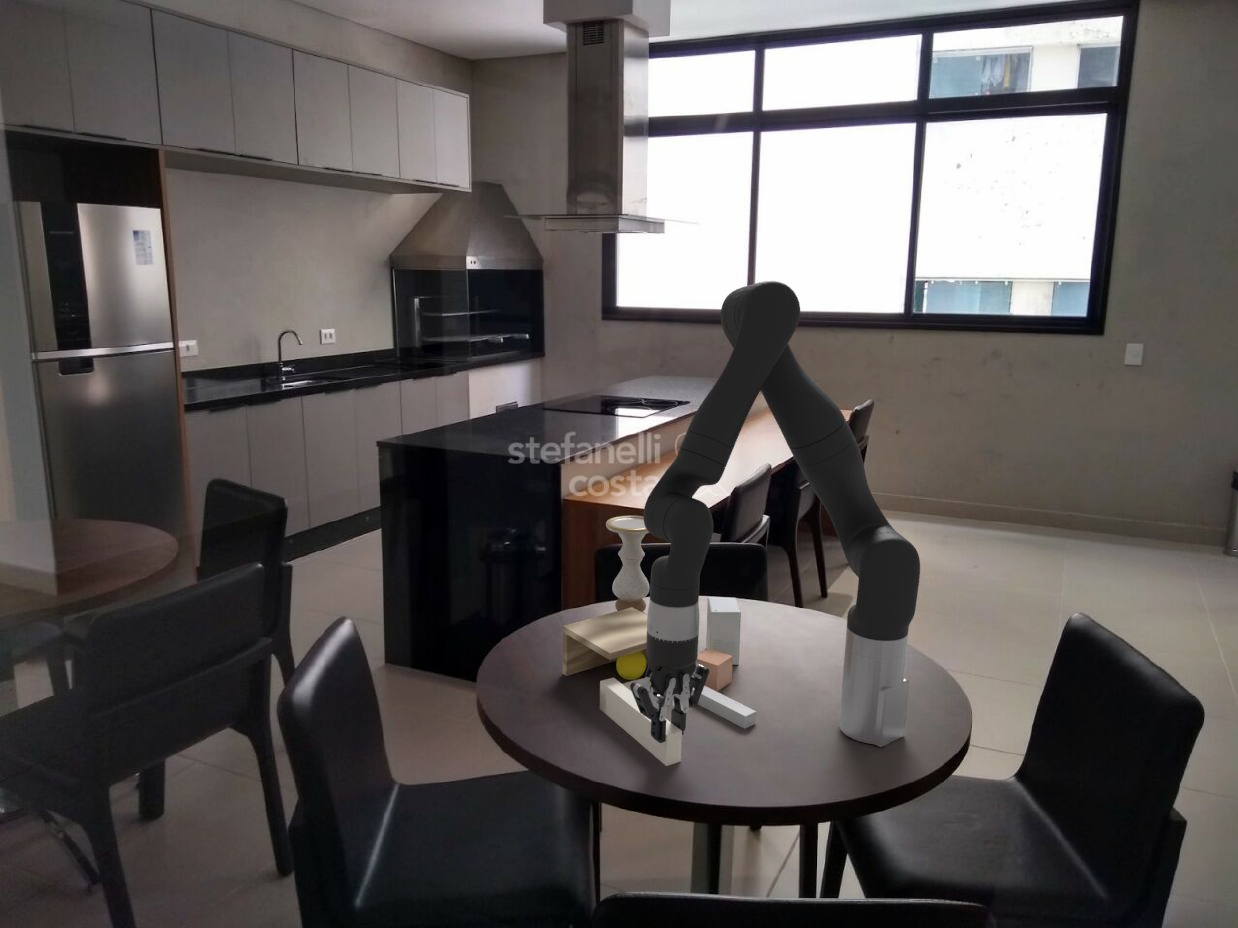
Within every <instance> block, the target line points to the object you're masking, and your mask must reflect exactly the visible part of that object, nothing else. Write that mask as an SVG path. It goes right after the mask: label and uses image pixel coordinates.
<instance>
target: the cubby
mask: <svg viewBox="0 0 1238 928" xmlns="http://www.w3.org/2000/svg"><path fill="white" fill-rule="evenodd" d="M644 613H645V612H644ZM644 613H642V612H640V611H638V610H636V609H634V608H632V607H631V608H628V609H624V610H620V611H617V610H616V612H615V611H613V612H609V613H605V614H602V615H598V616H595V617H590V618H587V619H583V620H580V621H576V622H573V623H569V624H565V625H562V674H563V675H564V676H566V677H568V676H571V675H574V674H577V673H580V672H584V671H587V670H590V669H593V668H597V667H600V666H603V665H606V664H610V663H613V662H617V659H618V657H622V656H625V655H628V654H631V653H635V652H638V651H642V653H643V654H644V655H645V658H646V661H647V664H646V667H648V660H647V657H646V642H647V615H648V614H647V613H646V614H647V615H646V614H644Z"/></svg>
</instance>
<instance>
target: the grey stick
mask: <svg viewBox="0 0 1238 928" xmlns="http://www.w3.org/2000/svg"><path fill="white" fill-rule="evenodd" d="M694 690H695V689H694V688H693V690H692V692H691V695H693V693H694ZM697 705H699V706H701V707H702V708H704V709H706V710H708V711H710V712H712V713H714V714H715V715H717V716H719V717H722V718H723V719H725V720H727V721H730V722H731V723H733V724H735V725H737V726H739V727H740V728H742V729H745V730H746V729H747V728H750V727H751V726H754V725H756V724H757V723H756V721H757V719H756V718H757V710H754V709H752V708H750V707H748V706H746V705H745V704H742V703H740V702H738V701H736V700H734V699H732V698H730V697H728V696H726V695H724V694H722V693H720V692H719V691H717V692H716V691H714V690H712V689H710V688H708V687H706V686H704V688H703V691H702V693H701V696H700V699H699V701H698V704H697Z"/></svg>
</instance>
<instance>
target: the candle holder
mask: <svg viewBox="0 0 1238 928" xmlns="http://www.w3.org/2000/svg"><path fill="white" fill-rule="evenodd" d="M605 526H606V528H607V530H609V531H610V532H613V533H617V534H618V536H619V538H621V540H622V546H621V548H620V550H619V551H618V553H617V554H618V556H619V557H620V560H621V562H622V566H621V569H620V571H619V572H618V574H617V576H616V577H615V578H614V580H613V582H612V593H613V594H614V595H615V596H616V597H617V598H618V599H617V600H616V601H615V603H614V606H615V607H614V608H615V610H616V611H620V610H624V609H628V608H631V607H632V608H634V609H636V610H638V611H640V612H642V613H644V614H646V615H648V613H646V612H644V611H645V610H646V608H647V603H646V601H645V600H644V599H645V597H647V595H648V594H650V583H649V580H648V578H647V577H646V576H645V574H644V573H643V571H642V568H641V562H642V560H643V558H644V557H645V554H646V553H645V552H644V550H643V548H642V546H641V544H642V540H643V538H644V537H645V536H646V534H650V533H649V532H648V530H647V529H646V527H645V524H644V519H643V516H641V515H620V516H615V517H611V518H609V519H608V520H607V521H606V522H605ZM616 611H614V612H616Z"/></svg>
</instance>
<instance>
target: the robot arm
mask: <svg viewBox="0 0 1238 928" xmlns="http://www.w3.org/2000/svg"><path fill="white" fill-rule="evenodd" d="M800 318H801V305H800V301H799V298H798V296H797V294H796V293H795V291H794V290H793V289H792V287H790V286H789V285H787V284H785V282H781V281H777V280H765V281H760V282H756V283H752V284H747V285H746V286H742V287H739V288H736V289H734V290H733V291H732V292H729V294H728V295H727V296H726V297H725V299H724V301H723V303H722V304H721V309H720V323H721V326H722V330H723V333H724V334H725V337H726V339H727V340H728V342H729V343H730V344H731V346H732V352H731V355H730V356H729V359H728V361H727V363H726V365H725V367H724V369H723V371H722V372H721V374H720V376H719V377H718V379H717V380H716V382H715V383H714V385H713V386H712V388H711V389H710V390H709V392H708V394H707V395H706V396H705V398H704V399H703V401H702V402H701V403H700V405H699V406H698V408H697V409H696V412H695V414H694V416H693V417H692V418H691V421H690V423H689V426H688V428H687V430H686V432H685V435H684V436H683V437H684V438H683V439H682V442H681V444H680V447H679V450H678V452H677V454H676V458H675V459H674V460H673V462H672V463H671V464H670V466H668V468H667V469H666V470H665V472H664V473H663V475H662V476H661V478H660V479H659V480H658V482H657V483H656V484H655V485H654V487H653V488H652V490H651V492H650V493H649V495H648V497H647V499H646V502H645V504H644V508H643V514H642V515H643V519H644V524H645V527H646V529H647V530H648V532H649V533H648V534H651V535H652V536H654V537H655V538H658V539H660V540H662V541H665V542H667V543H669V544H670V549H669V550H670V551H669V554H668V555H664V556H660V557H658V558H656V559H655V561H653V563H652V565H651V569H650V570H651V571H650V580H649V581H650V583H649V603H648V608H647V642H646V657H647V660H648V666H647V668H646V670H645V675H644V679H643V680H642V681H640V682H639V683H636V682H632V683H631V685H630V689H631V691H632V694H633V696H634V699H635V701H636V703H637V706H638V708H639V711H640V713H641V714H643V715H644V716H646V717H647V718H649V719H650V720H651V736H652V737H653V738H654V739H655V740H656V741H658V742H659V743H663V742H665V739H666V720H665V718H666V719H667V711H668V707H669V706H671V703H672V706H673V708H671V713H670V714H671V715H670V716H671V717H670V722H671V723H672V724H674V725H675V726H676V727H677V728H679V729H680V730H681V731H682V736H684V733H685V730H686V727H687V724H686V723H687V713H688V712H689V711H690V708H691V707H692V706H693V707H696V706H698V705H699V704H698V701H699V699H700V696H701V693H702V691H703V688H704V685H705V683H706V680H707V677H708V675H709V669H708V668H706V667H705V666H703V665H701V664H699V663H695V662H696V660H697V657H698V655H699V654H698V653H699V634H700V607H699V605H700V604H699V601H700V600H699V597H700V575H701V572H702V569H703V566H704V564H705V561H706V557H707V554H708V551H709V548H710V544H711V542H712V538H713V533H714V520H713V515H712V513H711V510H710V508H709V506H707V504H706V503H705V502H703V501H702V500H699V499H696V498H694V497H693V496H694V495H695V494H696V493H697V491H698V490H699V489H700V488H701V487H704V486H714V485H716V484H718V483H719V481H720V480H721V479H722V477H723V475H724V472H725V469H726V467H727V465H728V463H729V460H730V457H731V456H732V453H733V450H734V448H735V446H736V443H737V441H738V438H739V436H740V434H741V431H742V430H743V426H744V424H745V421H746V419H747V417H748V415H749V413H750V411H751V409H752V407H753V405H754V403H755V401H756V400H757V397H758V395H759V393H760V392H761V394H762V396H763V398H764V400H765V402H766V404H767V407H768V408H769V410H770V412H771V415H772V416H773V418H774V420H775V422H776V423H777V426H778V428H779V429H780V431H781V433H782V435H783V437H784V440H785V442H786V444H787V447H788V448H789V450H790V452H791V454H792V456H793V458H794V459H795V462H796V464H797V465H798V467H799V468H800V470H801V472H802V474H803V476H804V478H805V479H806V481H807V482H808V484H809V486H810V488H811V489H812V491H813V492H814V494H815V496H817V498H818V499H819V501H820V502H821V504H822V506H823V507H824V509H825V510H826V512H827V514H828V516H829V519H830V520H831V523H832V525H833V528H834V530H835V533H836V535H837V537H838V539H839V543H840V545H841V548H842V550H843V554H844V557H845V559H846V562H847V564H848V566H849V567H850V569H851V571H852V573H854V574H855V575H856V576H857V578H858V581H857V582H858V585H857V592H856V602H855V604H854V605H853V604H852V606H851V607H850V608H849V609H848V611H847V616H846V617H847V618H846V629H845V630H846V632H845V633H846V634H845V645H844V646H845V647H844V659H843V669H842V670H843V672H842V684H841V697H840V711H839V713H840V714H839V729H840V731H841V732H842V733H843V734H844V735H845V736H847V737H848V738H851V739H853V740H855V741H856V742H857V741H858V742H862V743H866V744H871V745H875V746H877V747H880V748H882V747H884V746H887V745H889V744H891V743H893V742H894V741H897V740H899V739H901V738H903V737H904V736H905V733H906V723H907V711H908V701H909V700H908V699H909V688H910V681H909V679H907V678H905V671H906V670H905V668H906V659H907V649H908V648H907V647H908V636H909V635H908V634H909V627H910V624H911V623H912V620H913V619H914V616H915V614H916V613H915V612H916V610H917V609H916V607H917V600H918V593H919V586H920V577H921V575H920V574H921V559H920V555H919V553H918V550H917V549H916V547H915V546H914V544H913V543H911V542H910V541H909V540H908V539H906V537H904V536H903V535H902V534H901V533H900V532H898V531H897V530H896V529H895V528H894V527H893V526H892V524H891V523H890V522H889V521H888V519H887V518H886V516H885V515H884V513H883V512H882V510H881V508H880V507H879V505H878V502H877V501H876V500H875V498H874V496H873V494H872V492H871V490H870V487H869V484H868V479H867V474H866V470H865V465H864V460H863V457H862V452H861V450H860V447H859V444H858V442H857V440H856V438H855V436H854V433H853V431H852V429H851V427H850V425H849V423H848V421H847V420H846V417H845V416H844V414H843V412H842V411H841V409H840V407H839V406H838V405H837V403H836V402H835V401H834V400H833V398H832V397H831V396H830V395H829V394H828V393H827V392H826V390H824V389H823V388H822V387H821V386H820V384H819V383H818V382H816V381H815V380H814V379H813V378H812V376H810V375H809V373H807V371H805V369H804V368H803V366H802V365H801V364H800V362H799V361H798V359H797V358H796V356H795V354H794V352H793V351H792V348H791V347H790V344H789V342H790V341H791V339H792V337H793V335H794V334H795V332H796V330H797V328H798V325H799V323H800ZM693 688H694V689H695V690H694V693H693V695H691V692H692V690H693ZM649 695H650V697H649Z"/></svg>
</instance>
